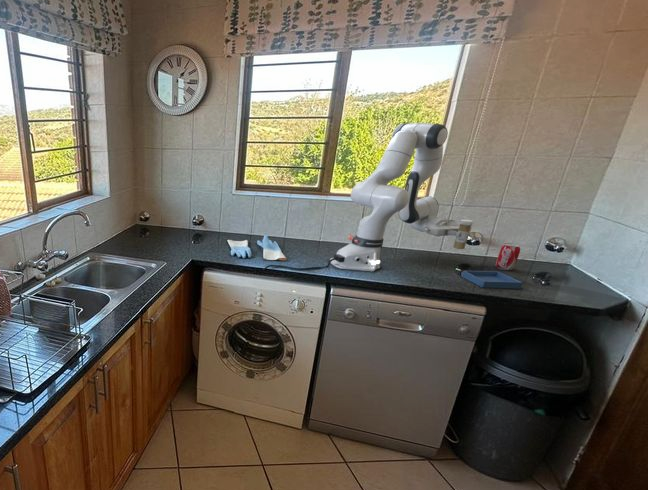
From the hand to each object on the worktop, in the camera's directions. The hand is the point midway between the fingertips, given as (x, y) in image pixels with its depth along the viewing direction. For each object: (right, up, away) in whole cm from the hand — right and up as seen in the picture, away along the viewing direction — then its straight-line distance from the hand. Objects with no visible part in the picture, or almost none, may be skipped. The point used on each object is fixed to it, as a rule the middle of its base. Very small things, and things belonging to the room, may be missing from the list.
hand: (464, 234), depth 187 cm
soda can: (+23, -16, +6) cm, 29 cm away
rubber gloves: (-90, -6, +30) cm, 95 cm away
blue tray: (+2, -22, -11) cm, 25 cm away
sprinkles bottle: (0, -6, +4) cm, 7 cm away
